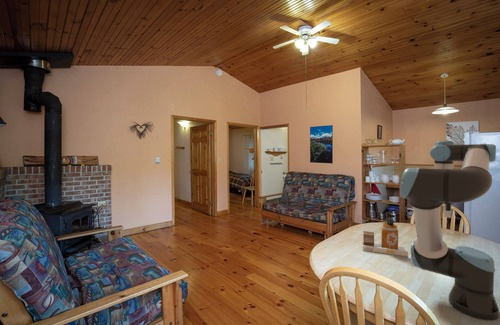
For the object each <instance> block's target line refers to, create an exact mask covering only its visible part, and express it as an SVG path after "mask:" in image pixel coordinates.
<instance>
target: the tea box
mask: <svg viewBox="0 0 500 325" xmlns="http://www.w3.org/2000/svg"><path fill="white" fill-rule="evenodd" d="M362 236H363V237H362V238H363V241H362V242H363V243H362V246H363V245H366V246H374V244H375V232H374V231H367V230H364V231H363V234H362Z"/></svg>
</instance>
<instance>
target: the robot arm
mask: <svg viewBox="0 0 500 325" xmlns="http://www.w3.org/2000/svg"><path fill="white" fill-rule="evenodd" d="M429 155H430V157H431V158H432V159H433V160H434V161H433V162H434V163H433V168H430V167H429V168H422V167H408V168H406V169H404V171H403V173H402V175H401V180H400V186H399V196H400V197H401V198H403V199H406V201H407V203H408V205H409V206H411V207H412V213H413V218H414V224H415V230H416V239H415V240H414V241H412V243H411V246H410V259H411V262H412V264H413V266H414V267H416V268H418V269H421V270H422V271H427V272H431V273H435V274H439V275H442V276H446V277H450V278H453V279H454V284H453V285H452V287H451V289H450V292H449V294H448V302H449V305H451V307H453V308H454V309H456V310H457V311H459V312H460V313H463V314H465V315H467V316H470V317H473V318H476V319H480V320H485V321H486V320H487V321H492V320H493V321H495V320H497V319H499V317H500V308H499V306H498V303H497V301H496V297H495V296H494V295H495V294H494V287H495V286H494V285H495V272H496V269H495V260H494V259H493V257H492V256H491V255H489V254H488V253H486V252H485V251H482V250H480V249H477V248H474V247H470V246H466V245H464V246H463V245H457V246H456V247H455V248H452V247H448V246H447V243H446V242H445V241H444V240H443V230H442V229H443V228H442V220H441V219H442V218H441V212H442V206H443V218H450V219H451V218H452V205H453V204H463V203H467V202H472V201H475V200H476V199H479V198H480V197H482V196H484V195H485V194H487V193H488V191H489V190H490V189H491V187H492V184H493V177H492V174H491V173H490V172H489V167H490V166H489V165H490V163H491V162H492V163H493V162H495V161H496V159H497V158H496V156H497V145H495V144H493V143H491V144H489V143H476V144H468V143H467V144H455V143H454V141H451V140H441V141H435V142H434V146H433V147H432V148H431V149H430V152H429ZM454 162H462V165H461V168H459V169H456V168H455V165H454ZM454 168H455V169H454Z"/></svg>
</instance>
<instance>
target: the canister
mask: <svg viewBox="0 0 500 325" xmlns="http://www.w3.org/2000/svg"><path fill="white" fill-rule="evenodd" d="M380 244H381V245H382V246H381V248H389V249H397V250H398V247H399V230H398V225H396V223H395V221H394V219H393V218H392V217H387V216H386V217H385V218H384V222H382V228H381V243H380Z"/></svg>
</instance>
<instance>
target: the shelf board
mask: <svg viewBox="0 0 500 325" xmlns="http://www.w3.org/2000/svg"><path fill="white" fill-rule="evenodd" d="M361 243H362V251H364V252H365V251H366V252H371V253H373V252H374V253H379V254H380V253H381V254H389V255H394V256H400V257H401V256H403V257H407V259H408V258H409V251H408V250H406V249H405V247H403V246H398V250H397V249H389V248H381V246H382V245H381V243H380V244H379V243H374V246H366V245H363V241H362V242H361Z"/></svg>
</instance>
